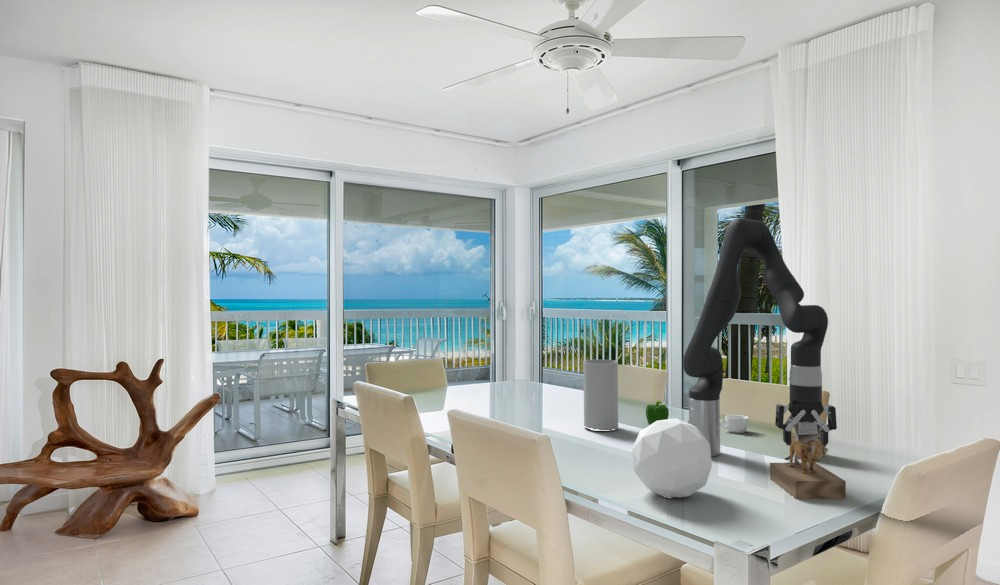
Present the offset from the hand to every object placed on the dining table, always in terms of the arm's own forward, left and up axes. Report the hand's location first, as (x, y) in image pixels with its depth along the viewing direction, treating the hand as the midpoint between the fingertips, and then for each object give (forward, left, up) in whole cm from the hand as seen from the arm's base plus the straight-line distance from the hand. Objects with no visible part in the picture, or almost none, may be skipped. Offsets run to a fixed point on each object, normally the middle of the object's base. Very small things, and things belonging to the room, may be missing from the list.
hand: (805, 445), depth 161 cm
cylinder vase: (-50, +65, -11) cm, 83 cm away
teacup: (-3, +63, -11) cm, 64 cm away
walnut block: (0, 0, -12) cm, 12 cm away
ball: (-35, -8, -11) cm, 38 cm away
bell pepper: (-29, +70, -11) cm, 77 cm away
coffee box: (+11, +33, -11) cm, 37 cm away
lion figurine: (0, +1, -7) cm, 7 cm away
